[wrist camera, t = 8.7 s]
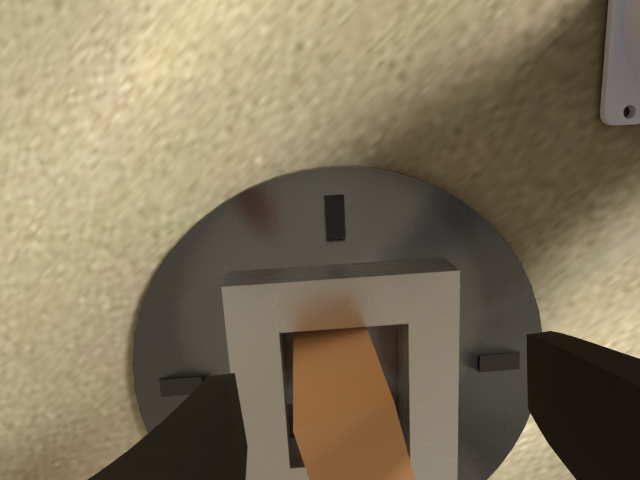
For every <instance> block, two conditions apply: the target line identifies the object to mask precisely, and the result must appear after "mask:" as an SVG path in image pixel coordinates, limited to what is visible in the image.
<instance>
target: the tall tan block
mask: <svg viewBox="0 0 640 480" xmlns="http://www.w3.org/2000/svg"><path fill="white" fill-rule="evenodd" d="M293 432H294V435H295V438H296V441H297V444H298V447H299V450H300V453H301V456H302V459H303V462H304V465H305V468H306V471H307V474H308V477H309V480H415V477H414V473H413V469H412V466H411V462H410V458H409V455H408V451H407V447H406V444H405V440H404V436H403V433H402V429H401V425H400V422H399V418H398V414H397V410H396V407H395V403H394V400H393V398H392V395H391V392H390V389H389V387H388V384H387V381H386V379H385V376H384V373H383V371H382V368H381V365H380V362H379V360H378V357H377V354H376V352H375V349H374V346H373V343H372V341H371V338H370V335H369V333H368V330H367V327H355V328H341V329H327V330H313V331H300V332H293Z"/></svg>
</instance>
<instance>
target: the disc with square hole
mask: <svg viewBox="0 0 640 480" xmlns="http://www.w3.org/2000/svg"><path fill="white" fill-rule="evenodd" d="M355 327H367V330H368V333H369V335H370V338H371V341H372V343H373V346H374V349H375V352H376V354H377V357H378V360H379V362H380V365H381V368H382V371H383V373H384V376H385V379H386V381H387V384H388V387H389V389H390V392H391V395H392V398H393V400H394V403H395V407H396V410H397V414H398V418H399V422H400V425H401V429H402V433H403V436H404V440H405V444H406V447H407V451H408V455H409V458H410V462H411V466H412V469H413V473H414V477H415V480H487V479H488V478H489V477H490V476H491V475H492V474H493V473H494V472H495V470H496V469H497V468H498V467H499V466H500V465H501V463H502V462H503V461H504V459H505V458H506V457H507V455H508V454H509V453H510V451H511V450H512V448H513V447H514V445H515V443H516V442H517V440H518V438H519V436H520V434H521V433H522V431H523V429H524V427H525V425H526V423H527V420H528V418H529V415H530V411H529V410H528V391H527V338H526V334H533V333H541V332H542V328H541V321H540V315H539V309H538V306H537V303H536V299H535V296H534V293H533V290H532V286H531V284H530V282H529V280H528V278H527V276H526V274H525V272H524V270H523V267H522V265H521V263H520V262H519V260H518V259H517V257H516V256H515V254H514V253H513V251H512V250H511V248H510V247H509V245H508V244H507V242H506V241H505V240H504V239H503V238H502V237H501V236H500V234H499V233H498V232H497V231H496V230H495V229H494V228H493V227H492V226H491V224H490V223H489V222H488V221H486V220H485V219H484V218H483V217H482V216H480V215H479V214H478V213H477V212H476V211H474V210H473V209H472V208H471V207H470V206H468V205H467V204H465V203H464V202H462V201H460V200H459V199H457V198H456V197H454V196H452V195H451V194H449V193H447V192H446V191H444V190H442V189H440V188H437V187H435V186H433V185H430V184H428V183H426V182H424V181H421V180H419V179H416V178H414V177H410V176H406V175H403V174H399V173H396V172H392V171H389V170H383V169H375V168H368V167H361V166H328V167H320V168H312V169H304V170H300V171H296V172H292V173H288V174H284V175H281V176H277V177H274V178H271V179H269V180H266V181H264V182H261V183H259V184H257V185H254V186H252V187H249V188H247V189H246V190H244V191H242V192H240V193H239V194H237V195H235V196H233V197H232V198H230V199H228V200H226V201H225V202H223V203H222V204H221V205H219V206H218V207H217V208H215V209H214V210H213V211H211V212H210V213H209V214H208V215H206V216H205V217H204V218H202V219H201V220H200V221H199V222H198V223H197V224H196V225H195V226H194V227H193V228H192V229H191V230H190V231H189V232H188V233H187V234H186V235H185V236H184V237H183V238H182V239H181V240H180V241H179V242H178V244H177V245H176V247H175V248H174V249H173V251H172V252H171V253H170V255H169V256H168V257H167V259H166V260H165V261H164V263H163V264H162V266H161V268H160V269H159V271H158V273H157V275H156V277H155V279H154V280H153V282H152V284H151V286H150V288H149V290H148V293H147V296H146V298H145V301H144V304H143V306H142V309H141V312H140V315H139V320H138V325H137V330H136V334H135V339H134V355H133V371H134V383H135V392H136V396H137V400H138V404H139V409H140V413H141V416H142V418H143V421H144V423H145V426H146V429H147V431H148V433H149V432H151V431H152V430H153V429H154V428H155V427H156V426H158V425H159V424H160V423H161V422H162V421H163V420H164V419H165V418H167V417H168V416H169V415H170V414H171V413H172V412H173V411H174V410H175V409H176V408H177V407H178V406H179V405H180V404H181V403H182V402H183V401H184V400H185V399H186V398H187V397H188V396H189V395H190V394H191V393H192V392H193V391H194V390H195V389H196V388H197V387H198V386H199V385H200V384H201V383H203V382H204V381H205V380H206V379H207V378H208V377H209V376H215V375H222V374H230V373H235V377H236V383H237V388H238V394H239V400H240V405H241V411H242V417H243V422H244V428H245V434H246V439H247V445H248V450H247V467H246V480H309V477H308V474H307V471H306V468H305V465H304V462H303V459H302V456H301V453H300V450H299V447H298V444H297V441H296V438H295V435H294V432H293V332H300V331H313V330H327V329H341V328H355Z"/></svg>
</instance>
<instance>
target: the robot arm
mask: <svg viewBox="0 0 640 480" xmlns="http://www.w3.org/2000/svg"><path fill="white" fill-rule="evenodd" d="M626 106H627V107H628V108H629V115H628V116H627V117H626V118H625V116H624V114H623V111H624V108H625V107H626ZM600 118H601V120H602V122H603V123H605V124H606V125H630V124H640V0H609V1H608V14H607V27H606V40H605V53H604V67H603V80H602V93H601V106H600ZM526 338H527V391H528V410H529V411H530V413H531V415H532V417H533V418H534V420H535V422H536V424H537V425H538V427H539V429H540V431H541V432H542V434H543V435H544V437H545V439H546V440H547V442H548V444H549V445H550V446H551V448H552V449H553V450H554V452H555V453H556V454H557V455H558V457H559V458H560V459H561V461H562V462H563V463H564V464H565V466H566V467H567V468H568V469H569V471H570V472H571V473H572V475H573V476H574V477H575V478H576V480H640V359H639V358H636V357H633V356H630V355H627V354H624V353H621V352H618V351H615V350H612V349H609V348H606V347H603V346H600V345H597V344H594V343H591V342H588V341H585V340H582V339H579V338H576V337H572V336H569V335H566V334H562V333H558V332H553V331H548V332H541V333H533V334H526ZM247 450H248V445H247V439H246V434H245V428H244V422H243V417H242V411H241V405H240V400H239V394H238V388H237V383H236V377H235V373H230V374H222V375H215V376H209V377H208V378H207V379H206V380H205V381H204V382H203V383H201V384H200V385H199V386H198V387H197V388H196V389H195V390H194V391H193V392H192V393H191V394H190V395H189V396H188V397H187V398H186V399H185V400H184V401H183V402H182V403H181V404H180V405H179V406H178V407H177V408H176V409H175V410H174V411H173V412H172V413H171V414H170V415H169V416H168V417H167V418H165V419H164V420H163V421H162V422H161V423H160V424H159V425H158V426H156V427H155V428H154V429H153V430H152V431H151V432H149V433H148V434H147V435H146V436H145V437H144V438H143V439H141V440H140V441H139V442H138V443H137V444H136V445H134V446H133V447H132V448H131V449H130V450H128V451H127V452H126V453H124V454H123V455H122V456H120V457H119V458H118V459H116V460H115V461H114V462H112V463H111V464H110V465H108V466H107V467H105V468H104V469H103V470H101V471H100V472H98V473H97V474H95V475H94V476H92V477H91V478H89V479H88V480H246V467H247Z"/></svg>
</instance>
